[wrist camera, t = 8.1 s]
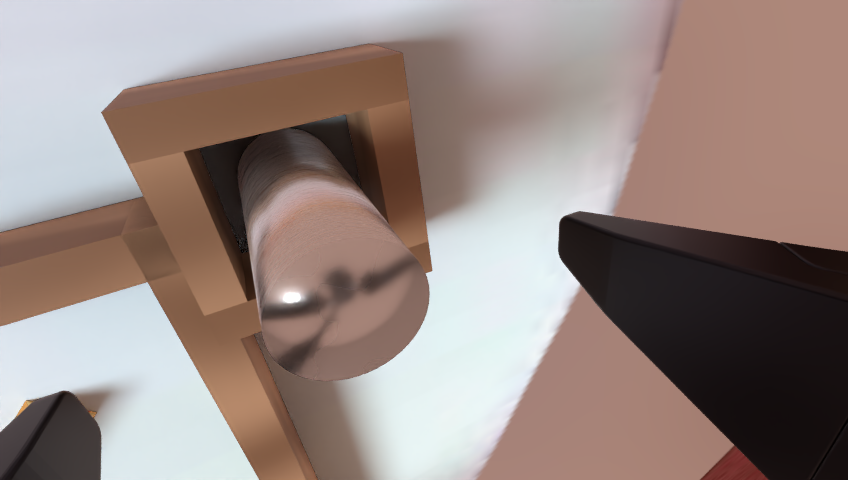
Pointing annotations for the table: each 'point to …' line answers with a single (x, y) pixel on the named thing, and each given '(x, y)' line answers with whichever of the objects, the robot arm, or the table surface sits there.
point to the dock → (219, 220)
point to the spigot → (324, 262)
